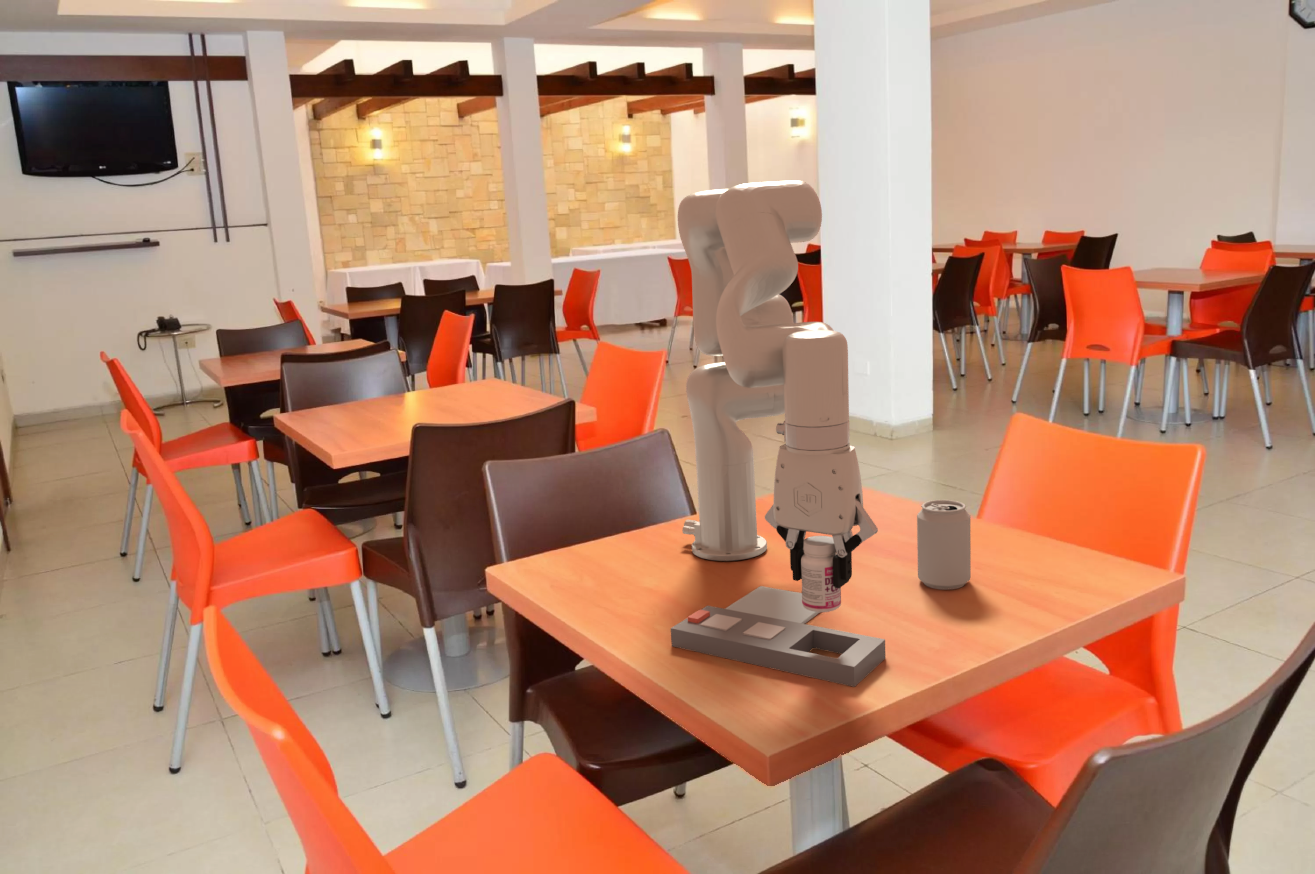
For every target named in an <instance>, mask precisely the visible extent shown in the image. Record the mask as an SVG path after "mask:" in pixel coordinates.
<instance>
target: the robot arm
mask: <svg viewBox="0 0 1315 874" xmlns="http://www.w3.org/2000/svg"><path fill="white" fill-rule="evenodd" d="M822 212H823V211H822V204H821V201H820V199H819V196H818V193H817V192H816V190H815V189H814V188H813V187H812V186H811V184H809V183H807V182H806V181H804V180H798V179H797V180H792V179H791V180H779V181H778V180H777V181H775V180H774V181H762V182H761V181H759V182H758V181H757V182H748V183H742V184H741V183H740V184H737V185H734V186H731V187H730V188H720V189H708V190H702V191H701V190H700V191H698V192H697V191H696V192H693V193H690V194H689V195H686V196H685V197H683V198H682V200H681V201H680V203H679V206H678V210H677V226H678V227H677V228H678V234H679V237H680V241H681V244H682V246H683V249H684V252H685V254H686V257H687V260H688V263H689V267H690V271H691V287H692V288H691V289H692V292H691V293H692V319H693V322H692V323H693V336H694V342H695V345H696V347H697V349H698V351H699V352H700V353H702V354H703V355H706V356H711V357H722V358H723V361H721V362H712V363H707V364H703V365H700V366H698V367H696V368H695V369H693V370H692V371H691V372H690V373H689V375H688V377H687V379H686V382H685V392H686V393H685V394H686V398H687V403H688V404H687V405H688V408H689V413H690V417H691V418H690V419H691V423H692V431H693V437H694V449H695V451H694V452H695V453H694V454H695V463H696V464H695V465H696V466H695V467H696V468H695V469H696V480H697V481H696V485H697V500H698V519H699V521H697V520H695V519H693V520H692V519H686V520H685V521H684V523H683V527H682V534H684V535H693V536H694V540H693V542H692V543H691V552H692V554H693V555H695V556H696V557H698V558H701V559H705V560H710V561H717V562H719V561H720V562H732V561H742V560H748V559H752V558H754V557H755V558H756V557H757V556H760V555H762V554H763V553H764V552H766V551H767V549H768V542H767V540H766V538H764V537H763V536H761V535H758V527H757V524H758V523H757V507H756V506H757V505H756V504H757V503H756V502H757V501H756V483H755V482H756V481H755V463H754V462H755V461H754V459H755V458H754V456H755V455H754V447H753V444H752V441H751V440H750V438H749V436H747V434H746V433H745V432H743V431H742V430H741V429H740V427H739V426H738V425H737V422H739V421H742V420H748V419H756V418H757V419H758V418H767V417H769V418H770V417H776V416H780V415H784V421H783V422H778V423H777V424H776V428H775V432H776V433H777V434H778V435H782V436H783V437H784V438H783V439H784V440H783V441H784V443H785V444H782V445H779V446H778V447H779V448H778V453H777V459H776V465H775V470H774V471H775V472H774V482H773V504H772V505H771V507H770V508H769V509H768V511H767V512H766V513H765V515H764V519H765V521H766V523H768V524H769V525H770V526H771V527H773V529H775V530H776V532H777V534H778V535H779V536H780V537H781V538H782V539H783V541H784V542H785V547H786V548H787V550H789V563H790V564H789V565H790V570H791V571H792V580H793V581H796V582H798V581H801V580H802V574H801V558H802V556H803V555H804V554H805V553H804V550H803V547H804V540H805V539H806V535H807V532H808V533H814V534H815V533H816V534H823V535H827V536H828V535H829V536H831V537H833V541H834V544H835V548H836V554H837V555H835V556H834V557H833V586H834V587H835V588H842V587H844V585H846V584H847V583H849V581H850V580H851V578H852V575H853V569H852V568H853V565H852V564H853V562H852V559H853V557H852V555H853V553H852V552H854V551H855V550H856V549H857V548H858V547H859V546H860V545H861V544H862V543H864V542H865V541H866V540H868V539H870V538H871V537H873V536H874V535H875V534H877V533H878V532H879V531H878V530H879V529H878V527H877V525H876V524H875V522H874V521H873V520H872V518H871V516H870V515H869V513H868V512H867V511H866V509H865V508H864V497H863V496H864V495H863V484H862V478H861V477H862V475H861V472H860V465H859V461H858V460H859V459H858V455H857V452H856V449H855V446H854V445H851V441H850V439H851V438H850V436H851V434H850V414H849V413H850V407H849V406H850V402H849V401H850V400H849V398H850V396H849V347H848V341H847V338H846V336H845V335H844V334H843V333H842V332H839V331H836V330H834V329H833V327H832V326H831V325H830V324H828V323H827V322H823V321H803V322H794V316H793V311H792V309H791V306H790V304H789V302H788V300H787V299H786V298H785V297H784V296H783V295H781V294H782V293H783V292H784V291H786V290H787V289H788V288H790V286H791V284H792V283H793V282H794V281H795V279H796V277H797V275H798V271H799V263H798V262H799V261H798V258H797V255H796V253H795V251H794V249H793V245H792V244H796V243H797V244H798V243H805V242H809V241H812V240H814V239H815V238H816V236H818V234H819V232H820V229H821V227H822V221H823V213H822ZM856 526H858V527H859V529H860V530H859V531H858V532H856V533H855V534H853V531H852V529H853V528H854V527H856Z"/></svg>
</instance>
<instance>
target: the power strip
mask: <svg viewBox="0 0 1315 874" xmlns="http://www.w3.org/2000/svg"><path fill="white" fill-rule="evenodd" d="M670 636H671V637H670V639H671V647H675V648H678V649H682V650H687V651H693V652H696V653H701V654H706V655H710V656H715V657H718V658H724V659H727V660H728V659H729V660H732V661H737V662H741V663H746V664H750V665H754V666H755V665H756V666H758V667H759V666H760V667H764V668H769V669H774V670H778V671H781V672H782V671H783V672H786V673H791V674H795V675H801V676H805V677H808V678H814V679H818V680H823V681H828V682H831V683H837V684H840V685H844V686H850V687H854V688H855V687H856V686H857V685H858V684H859V683H861V682H862V681H863V680H864V679H865V678H866V677H867V676H868V675H869V674H870V673H871V672H872V671H874V670H875V669H876V668H877V667H878V666H879V665H880V664H882V662H883V661H884V660H885V659H886V639H885V638H880V637H875V636H869V635H864V634H859V633H854V632H850V631H849V632H848V631H843V630H838V629H833V628H827V627H822V626H818V625H812V624H807V623H805V624H802V623H797V622H792V621H786V620H781V619H776V618H771V617H765V616H760V615H755V614H750V613H744V612H739V611H734V610H729V609H725V608H722V607H718V606H712V605H706V606H705V607H703V608H701V609H698V610H697V611H695V612H693V613H692V614H690V615H688V616H687V617H686V618H684V619H683V620H681V622H679V623H677V624H674V626H672V627H671V628H670ZM814 649H817V650H821V651H825V652H826V651H827V652H830V653H831V652H832V653H835V654H840V656H838V657H831V656H827V655H822V654H817V653H812V652H811V651H812V650H814Z"/></svg>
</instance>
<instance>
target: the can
mask: <svg viewBox="0 0 1315 874" xmlns="http://www.w3.org/2000/svg"><path fill="white" fill-rule="evenodd" d="M920 507H921V510H920V511H919V512H917V515H916V530H917V531H916V533H917V534H916V537H917V538H916V539H917V545H916V546H917V547H916V548H917V578H918V579H919V581H921V583H923V584H924V585H925V586H926V587H927V588H931V589H936V590H945V591H946V590H956V589H960V588H963V587H964V586H965V585H966V584H967V583H968V582H969V581H971V569H972V568H971V567H972V566H971V557H972V556H971V555H972V553H971V552H972V551H971V544H972V543H971V514H970V513H969V512H968V511H967V509H966V508H967V506H966V504H965V503H964V502H961V501H957V500H951V499H935V500H928V501H925V502H924V503H922V504H921V506H920Z"/></svg>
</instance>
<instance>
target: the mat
mask: <svg viewBox="0 0 1315 874" xmlns="http://www.w3.org/2000/svg"><path fill="white" fill-rule="evenodd" d="M724 609H729V610H734V611H739V612H744V613H750V614H755V615H760V616H765V617H771V618H776V619H781V620H786V621H792V622H797V623H802V624H807V623H808V622H809V621H810V620H812V619H814V617H816V616H818V614H820V613H821V612H814V611H810V610H807V609H806V608H804V607H803V605H802V592H798V591H792V590H785V589H782V588H781V589H780V588H773V587H768V586H764V585H760V586H758V587H756V588H755V589H754V590H752V591H750V592H749V593H747V594H746V595H744V596H743V597H741V598H739V599H737V600H736V601H735V602H733V603H731V604H730V605H729V606H726V607H725V608H724Z"/></svg>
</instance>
